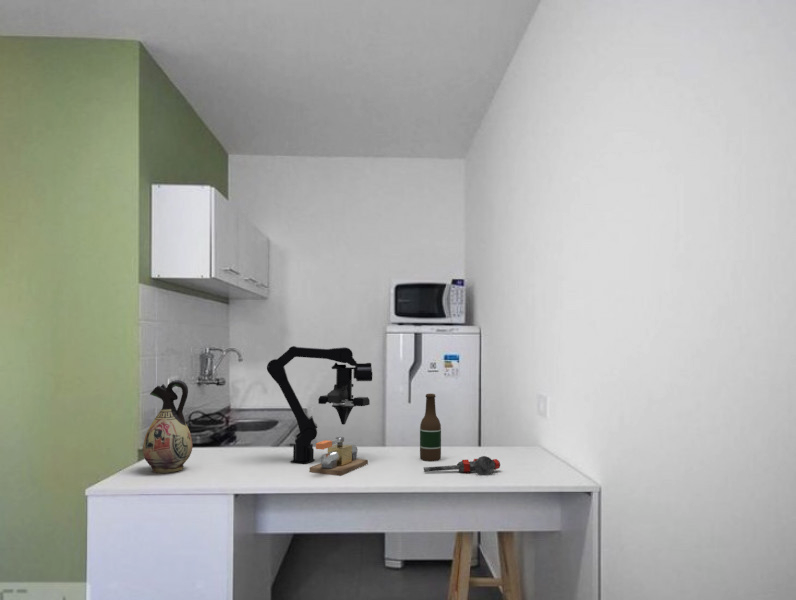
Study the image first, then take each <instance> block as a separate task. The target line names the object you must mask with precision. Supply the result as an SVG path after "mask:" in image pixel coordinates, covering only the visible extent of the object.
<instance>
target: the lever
mask: <svg viewBox="0 0 796 600" xmlns="http://www.w3.org/2000/svg"><path fill="white" fill-rule="evenodd" d="M339 442H343V443H344V442H345V437H343V436H342V437H341V436H336V437H335V438H332V439H329V440H328V439H327V440H326V439H325V440H321V441H319V442H316V443H315V449H316V450H326V449H328V448H329V447H332V446H333V445H336V444H337V443H339Z"/></svg>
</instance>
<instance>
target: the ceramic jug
mask: <svg viewBox="0 0 796 600" xmlns="http://www.w3.org/2000/svg"><path fill="white" fill-rule="evenodd" d="M176 387H178V388H180V389H181V392H182V393H181V397H180V401H179V404H178V407H177V408H176V406H175V402H174V401H177V400H178V399H179V397H178V395H177V394H176V392H175V391H174V390H173V388H176ZM188 393H189V387H188V385H187V383H185V382H184V381H182V380H179V379H176V380H172V381H170V382H169V383H168V384H167V385H165V384H161V385H157V386H155V388H153V389H152V390H151V392H150V393H149V395H151V396H153V397H156V398H157V399H160V400H162V408H161V409H160V410H159V412H158V414H157V415H156V416H155V418H154V420H153V421H152V422H151V424H150V426H149V427H148V429H147V431H146V433H145V437H144V440H143V444H142V453H143V454H142V455H143V458H144V460H145V461H146V463H147V464H148V465H149V466H150V468H151V469H152V472H153V473H155V474H167V473H168V474H169V473H176V472H180V471H182V470H183V469H184V464H185V463H186V462H187V460H188V459H189V458H190V456H191V454H192V452H193V438H192V433H191V431H190V429H189V426H188V425H187V423H186V420H185V417H184V413H183V411H184V407H185V404H186V401H187V399H188Z"/></svg>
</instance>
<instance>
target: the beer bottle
mask: <svg viewBox="0 0 796 600" xmlns="http://www.w3.org/2000/svg"><path fill="white" fill-rule="evenodd" d="M436 397H437V395H436V394H435V393H427V394H425V398H426V399H425V410H424V411H425V413H424V416H423V418H422V419H421V421H420V425H419V459H420V460H421V461H424V462H439V461H440V460H441V459H442V428H441V427H442V424H441V422H440V421H441V420H440V419H439V418H438V416H437V412H436Z"/></svg>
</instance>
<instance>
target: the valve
mask: <svg viewBox="0 0 796 600" xmlns="http://www.w3.org/2000/svg"><path fill="white" fill-rule="evenodd" d="M500 468H501V462H500V460H498V458H493V459H492V458H491V457H489V456H485V455H484V456H483V455H481V456H479V457H478V458H473V461H471V460H470V461H469V459H461V460H460V461H458V463H457V464H456V465H453V464H452V465H439V466H438V465H437V466H426V467H425V466H424V467H423V472H426V473H427V472H439V471H440V472H442V471H453V470H458V472H460V473H463V474H469V473H471V472H476V474H478V475H479V476H490V475H492V474H493V472H494V471H495V470H498V469H500Z"/></svg>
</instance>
